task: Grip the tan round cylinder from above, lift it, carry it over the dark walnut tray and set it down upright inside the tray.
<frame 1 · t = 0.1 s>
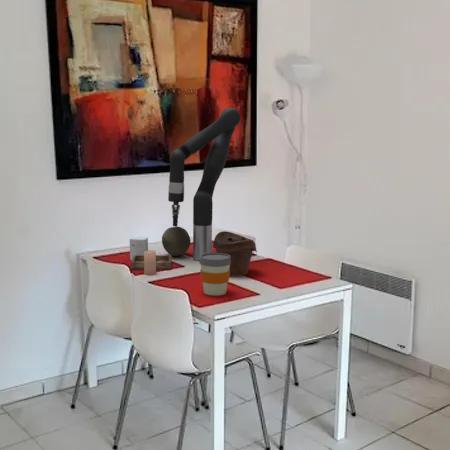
hand: (175, 224, 304), 17 cm above the table, tool pointing down, fingers open, 8 cm apart
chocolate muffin: (234, 273, 283), on the table
cantaloupe: (176, 256, 312), on the table
tray: (151, 266, 293), on the table
reusable coffee cup: (215, 292, 253), on the table
tan round cylinder: (150, 273, 280), on the table
small box: (139, 259, 306), on the table
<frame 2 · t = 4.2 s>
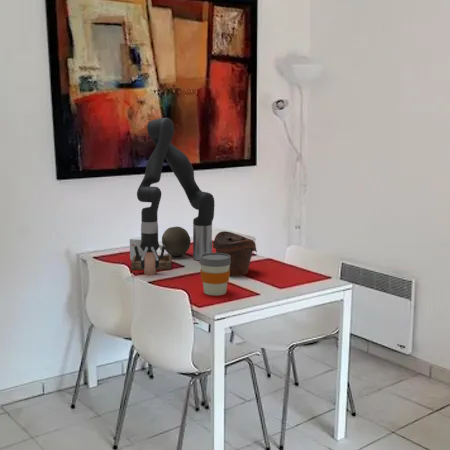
hand: (150, 268, 280), 2 cm above the table, tool pointing down, fingers closed on tan round cylinder, 5 cm apart
tan round cylinder: (150, 273, 280), on the table, touching gripper
everything else where it was.
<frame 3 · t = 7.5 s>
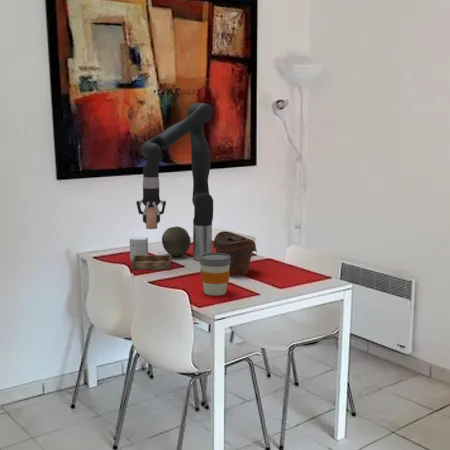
hand: (151, 222, 289), 21 cm above the table, tool pointing down, fingers closed on tan round cylinder, 5 cm apart
tan round cylinder: (151, 228, 289), point 18 cm above the table, touching gripper
everything else where it was.
when the fingers open (4 cm above the table, at t = 11.2 s): tan round cylinder stays where it is, resting on tray.
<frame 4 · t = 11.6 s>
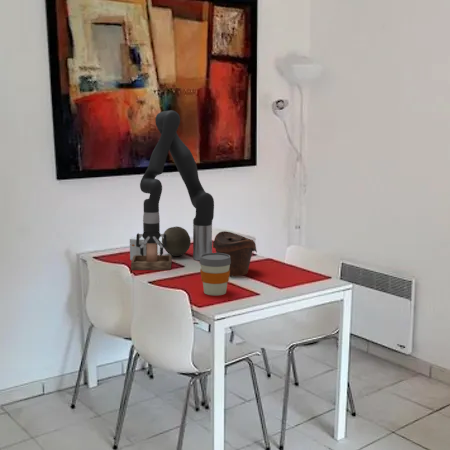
hand: (151, 255, 292), 5 cm above the table, tool pointing down, fingers open, 8 cm apart
tan round cylinder: (152, 263, 293), point 1 cm above the table, touching tray
everything else where it was.
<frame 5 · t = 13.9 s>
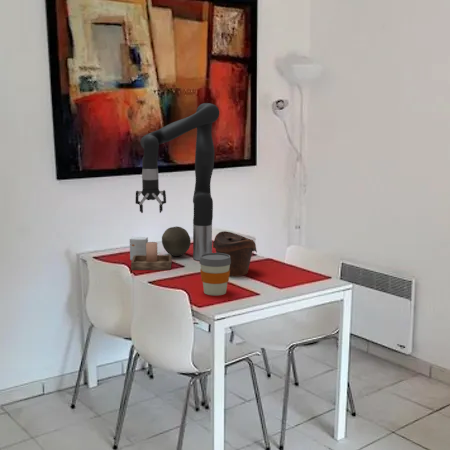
hand: (151, 212, 294), 24 cm above the table, tool pointing down, fingers open, 8 cm apart
nothing on the table moved.
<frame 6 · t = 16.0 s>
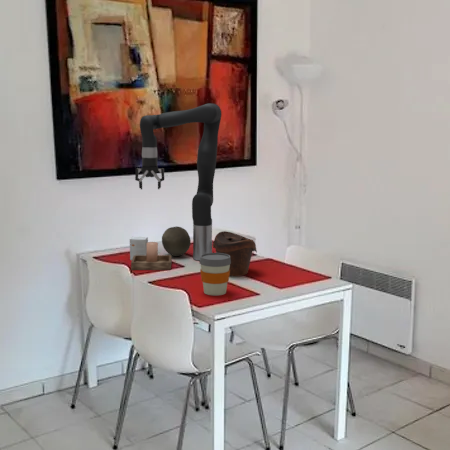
hand: (150, 189, 310), 33 cm above the table, tool pointing down, fingers open, 8 cm apart
nothing on the table moved.
at the end: tan round cylinder inside the target area on the tray (0.1 cm from its centre), point 1.1 cm above the tray's base; tan round cylinder tilted 2°; the gripper is holding nothing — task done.
